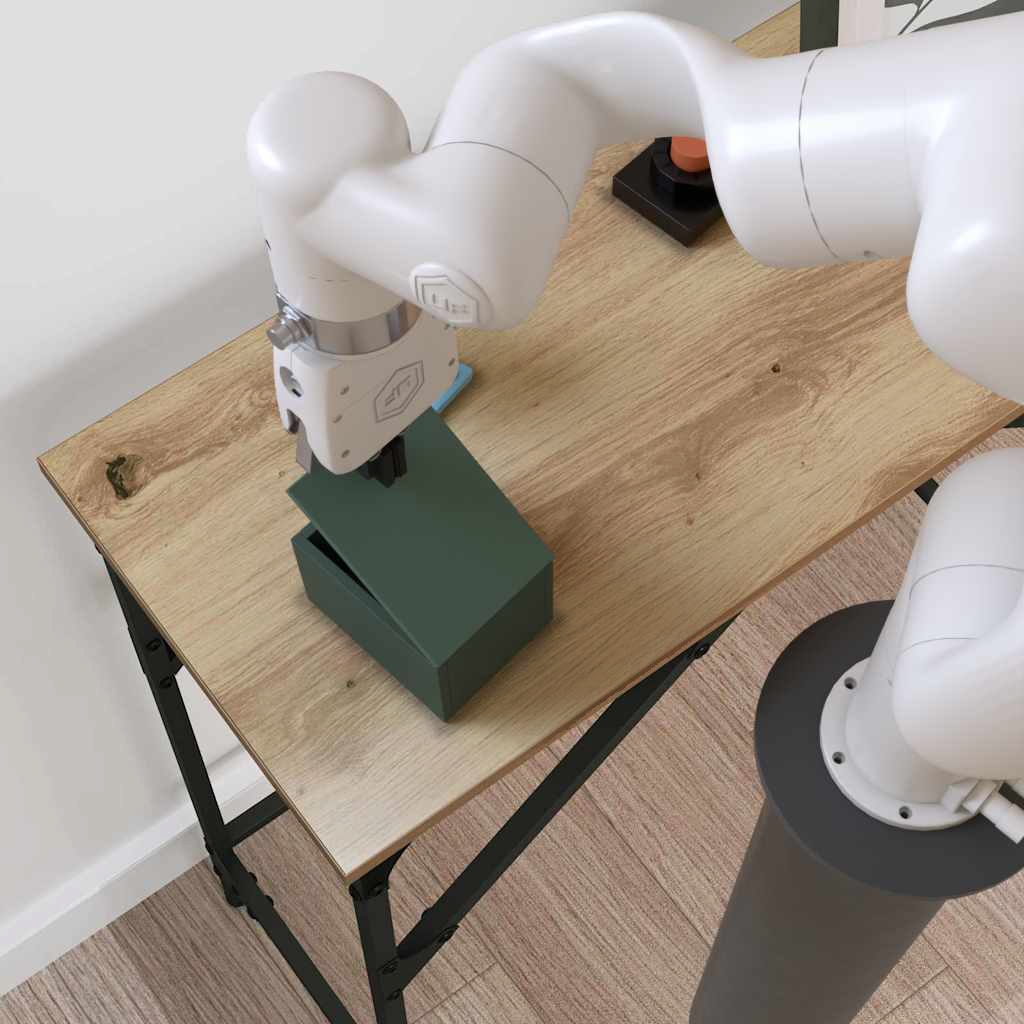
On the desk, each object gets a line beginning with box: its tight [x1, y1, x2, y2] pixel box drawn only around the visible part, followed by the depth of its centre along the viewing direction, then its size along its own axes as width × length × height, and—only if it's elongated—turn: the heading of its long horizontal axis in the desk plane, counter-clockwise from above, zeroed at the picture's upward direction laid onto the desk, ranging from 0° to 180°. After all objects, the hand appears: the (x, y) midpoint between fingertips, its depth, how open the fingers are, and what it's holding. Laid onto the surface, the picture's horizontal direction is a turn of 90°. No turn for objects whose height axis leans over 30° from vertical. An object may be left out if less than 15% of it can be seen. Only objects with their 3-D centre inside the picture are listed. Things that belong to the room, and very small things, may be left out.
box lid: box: [284, 406, 556, 668], centre depth 101 cm, size 14×11×1 cm
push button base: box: [611, 137, 724, 248], centre depth 128 cm, size 8×10×4 cm
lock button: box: [671, 136, 710, 172], centre depth 126 cm, size 4×4×2 cm
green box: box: [290, 521, 554, 724], centre depth 108 cm, size 14×11×9 cm
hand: (380, 466), depth 99 cm, fingers closed
